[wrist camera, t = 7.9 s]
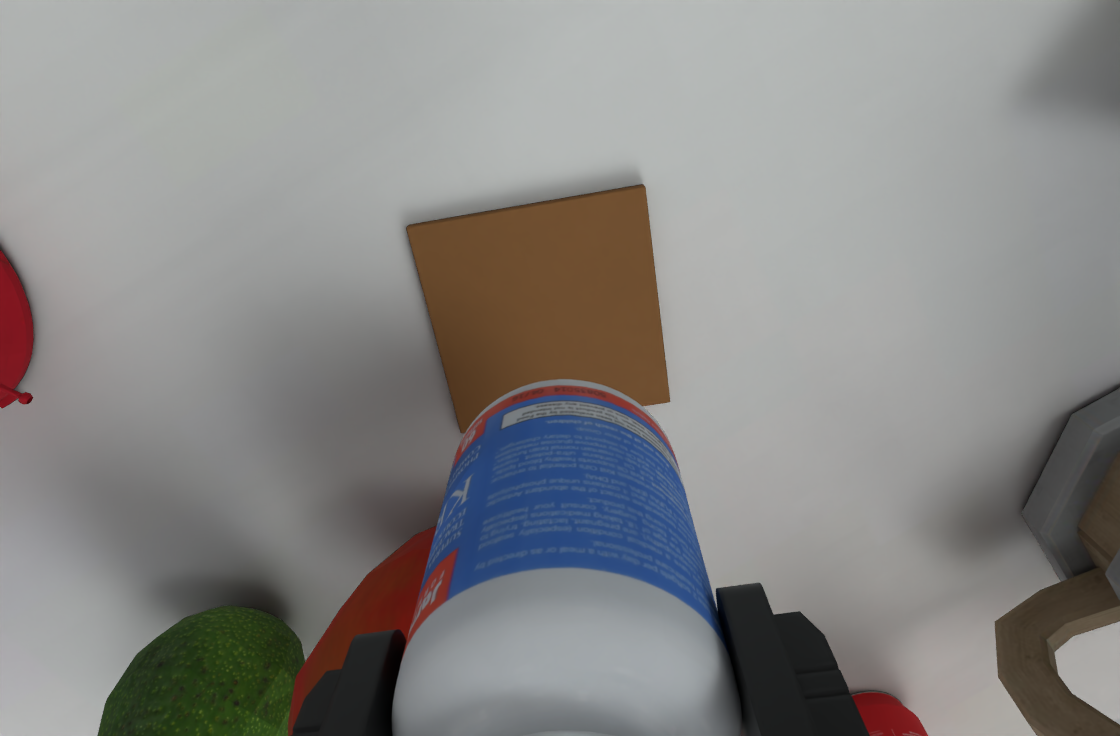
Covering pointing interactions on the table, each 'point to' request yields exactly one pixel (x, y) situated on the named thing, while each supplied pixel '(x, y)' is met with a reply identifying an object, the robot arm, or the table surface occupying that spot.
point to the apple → (368, 613)
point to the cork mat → (544, 298)
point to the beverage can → (886, 715)
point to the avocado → (209, 679)
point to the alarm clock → (13, 335)
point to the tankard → (1068, 572)
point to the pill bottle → (565, 583)
